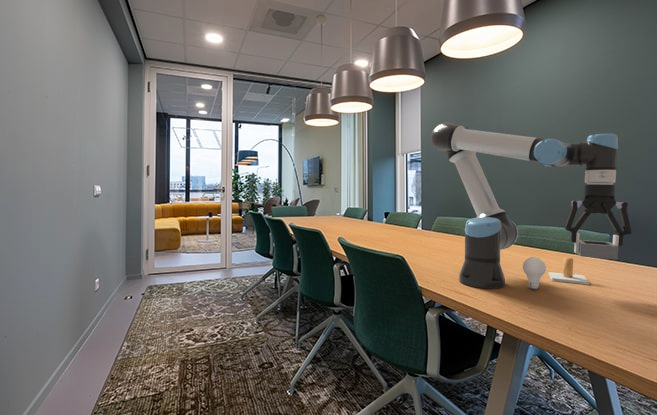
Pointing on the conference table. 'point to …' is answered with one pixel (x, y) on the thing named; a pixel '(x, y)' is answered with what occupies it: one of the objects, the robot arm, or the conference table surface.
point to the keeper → (568, 274)
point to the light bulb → (534, 271)
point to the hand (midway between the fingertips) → (594, 254)
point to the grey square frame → (598, 249)
